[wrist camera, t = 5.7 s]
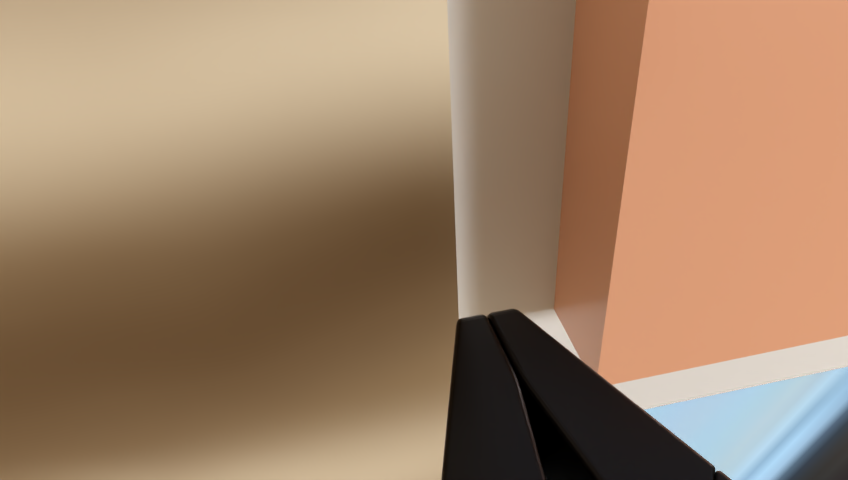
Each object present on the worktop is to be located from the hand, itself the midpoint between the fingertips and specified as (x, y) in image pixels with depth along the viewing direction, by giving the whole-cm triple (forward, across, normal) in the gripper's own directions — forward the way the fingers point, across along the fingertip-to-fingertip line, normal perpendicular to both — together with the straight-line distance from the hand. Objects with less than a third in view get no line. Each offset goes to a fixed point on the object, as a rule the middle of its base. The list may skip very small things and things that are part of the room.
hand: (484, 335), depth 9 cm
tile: (+2, -6, 0) cm, 6 cm away
